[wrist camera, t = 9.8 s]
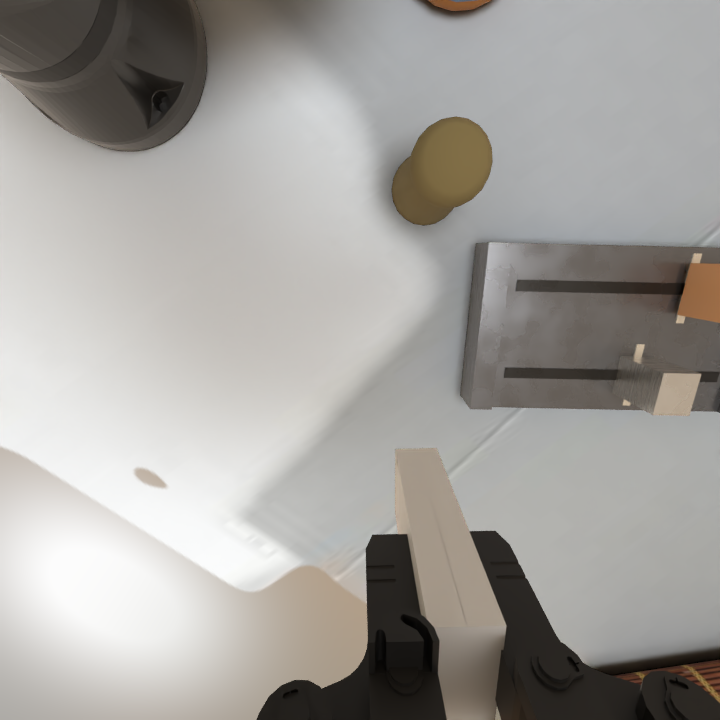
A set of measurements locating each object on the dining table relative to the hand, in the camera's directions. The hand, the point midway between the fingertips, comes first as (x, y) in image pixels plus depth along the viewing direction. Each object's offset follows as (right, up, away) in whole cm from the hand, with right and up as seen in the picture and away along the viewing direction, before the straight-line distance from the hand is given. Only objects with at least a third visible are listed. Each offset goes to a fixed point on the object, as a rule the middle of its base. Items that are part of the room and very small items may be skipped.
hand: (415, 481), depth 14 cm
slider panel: (+22, +8, +22) cm, 32 cm away
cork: (+4, +20, +19) cm, 28 cm away
